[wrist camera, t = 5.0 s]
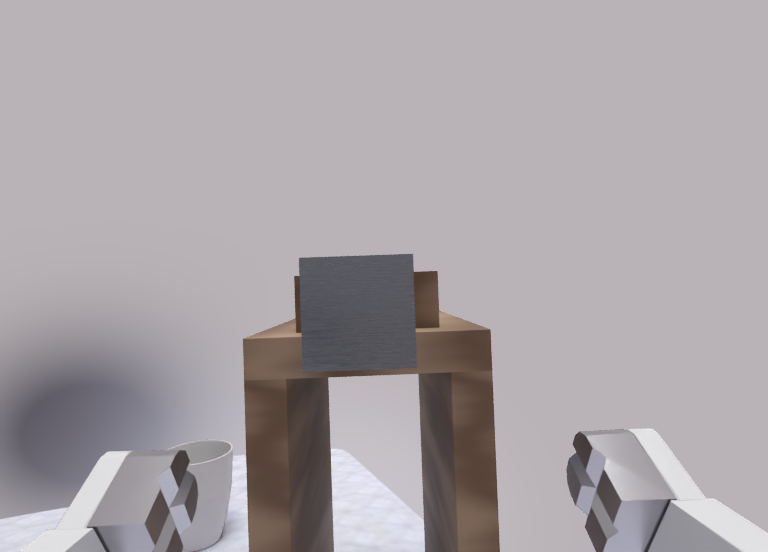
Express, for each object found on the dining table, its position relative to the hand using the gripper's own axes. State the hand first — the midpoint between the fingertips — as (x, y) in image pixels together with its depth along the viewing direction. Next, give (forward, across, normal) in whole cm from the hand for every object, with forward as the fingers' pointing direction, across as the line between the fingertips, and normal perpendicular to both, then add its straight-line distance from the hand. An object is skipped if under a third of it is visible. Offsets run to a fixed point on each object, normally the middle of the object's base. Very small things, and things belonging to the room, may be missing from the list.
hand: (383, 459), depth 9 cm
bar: (+14, 0, -6) cm, 15 cm away
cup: (+25, -21, -43) cm, 54 cm away
